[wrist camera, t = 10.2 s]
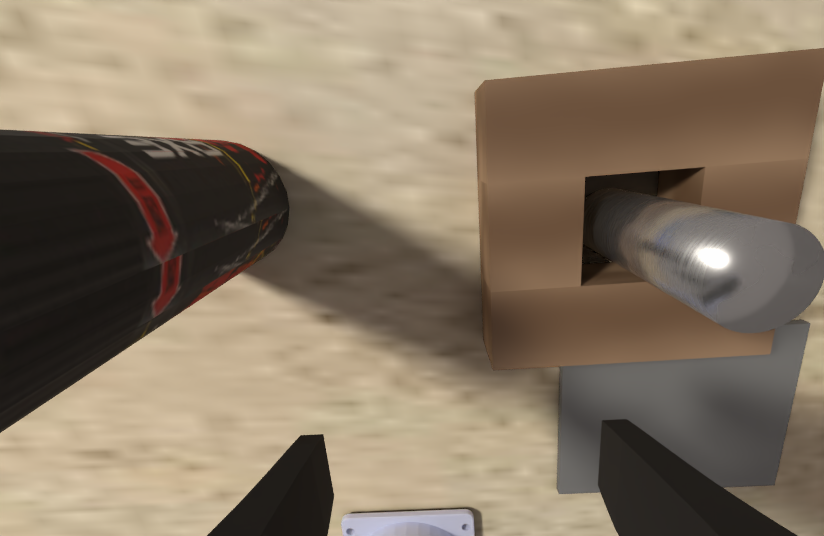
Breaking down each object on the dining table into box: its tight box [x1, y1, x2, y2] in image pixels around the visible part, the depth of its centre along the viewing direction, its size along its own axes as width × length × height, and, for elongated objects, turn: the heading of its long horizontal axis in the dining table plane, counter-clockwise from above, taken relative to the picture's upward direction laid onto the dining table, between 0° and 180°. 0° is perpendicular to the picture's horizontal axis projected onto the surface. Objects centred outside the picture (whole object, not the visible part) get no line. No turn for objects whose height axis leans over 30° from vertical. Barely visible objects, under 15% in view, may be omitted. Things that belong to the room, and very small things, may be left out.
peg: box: [583, 188, 824, 333], centre depth 14 cm, size 3×3×9 cm
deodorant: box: [0, 130, 289, 433], centre depth 12 cm, size 6×6×15 cm
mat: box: [557, 320, 810, 494], centre depth 21 cm, size 10×12×1 cm
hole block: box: [475, 48, 824, 370], centre depth 17 cm, size 12×12×3 cm
